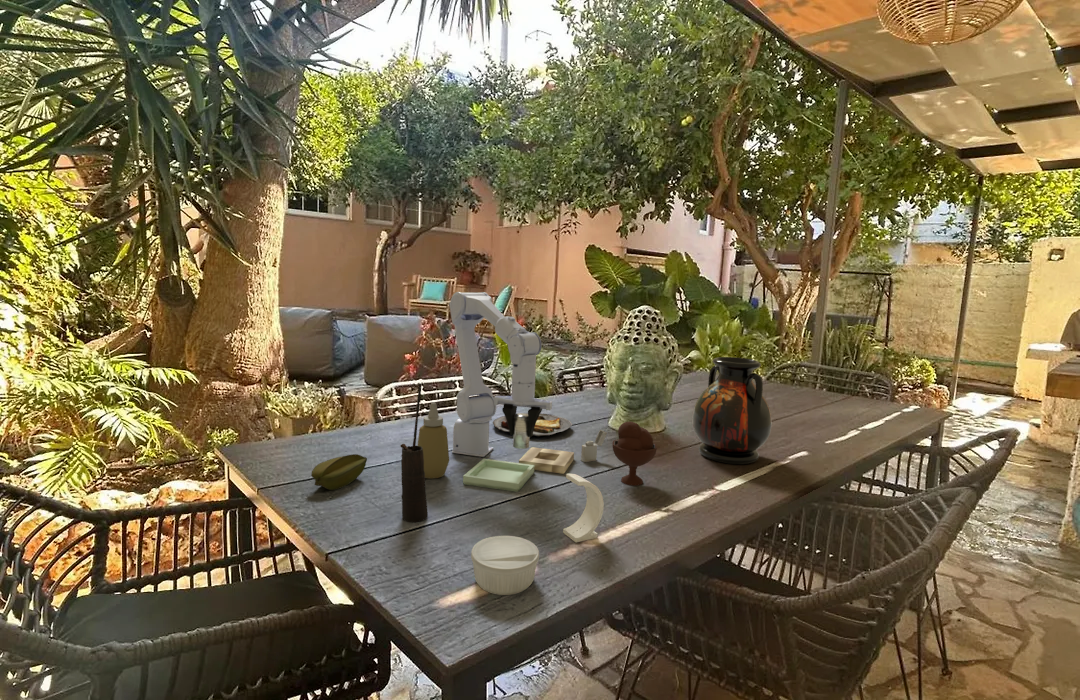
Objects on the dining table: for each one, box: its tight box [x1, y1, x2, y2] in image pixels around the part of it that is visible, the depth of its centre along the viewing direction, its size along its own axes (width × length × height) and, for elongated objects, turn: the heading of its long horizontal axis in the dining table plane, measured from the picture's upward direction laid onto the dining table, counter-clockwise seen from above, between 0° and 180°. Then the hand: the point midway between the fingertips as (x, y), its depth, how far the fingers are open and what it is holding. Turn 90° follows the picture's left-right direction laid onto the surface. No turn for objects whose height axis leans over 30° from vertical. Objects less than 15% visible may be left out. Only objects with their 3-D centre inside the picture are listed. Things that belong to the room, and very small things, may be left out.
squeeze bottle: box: [417, 402, 450, 479], centre depth 141 cm, size 8×8×18 cm
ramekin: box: [470, 535, 540, 596], centre depth 96 cm, size 11×11×5 cm
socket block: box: [518, 446, 575, 475], centre depth 155 cm, size 12×12×2 cm
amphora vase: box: [691, 356, 773, 465], centre depth 166 cm, size 22×22×28 cm
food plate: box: [492, 412, 573, 437], centre depth 188 cm, size 25×23×4 cm
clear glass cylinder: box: [512, 412, 530, 450], centre depth 146 cm, size 4×4×8 cm
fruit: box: [311, 453, 368, 491], centre depth 134 cm, size 11×12×7 cm
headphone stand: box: [562, 473, 605, 543], centre depth 113 cm, size 5×6×12 cm
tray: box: [462, 458, 535, 493], centre depth 142 cm, size 14×14×2 cm
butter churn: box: [399, 383, 429, 523], centre depth 117 cm, size 9×10×28 cm
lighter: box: [580, 429, 608, 463], centre depth 159 cm, size 7×2×8 cm, turn 120°
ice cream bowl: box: [612, 421, 658, 486], centre depth 143 cm, size 11×11×15 cm
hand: (521, 435), depth 146 cm, fingers closed on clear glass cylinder, 4 cm apart
